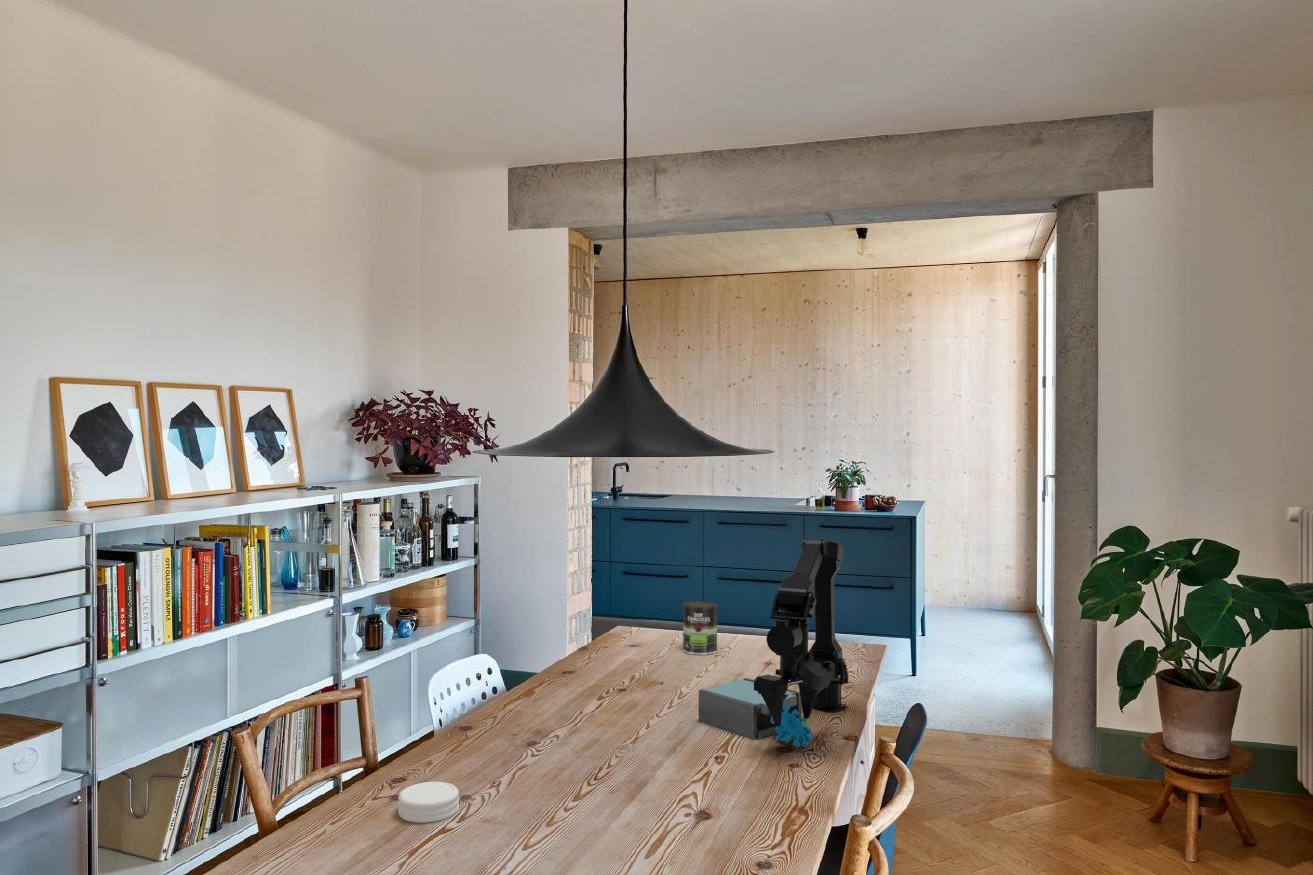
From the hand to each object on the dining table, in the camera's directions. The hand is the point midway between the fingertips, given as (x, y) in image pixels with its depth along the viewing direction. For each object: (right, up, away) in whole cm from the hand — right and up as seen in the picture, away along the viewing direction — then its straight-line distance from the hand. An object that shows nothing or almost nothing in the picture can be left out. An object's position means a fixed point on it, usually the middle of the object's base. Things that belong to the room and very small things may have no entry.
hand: (792, 721), depth 188 cm
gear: (0, -5, +1) cm, 5 cm away
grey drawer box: (-8, -5, +15) cm, 17 cm away
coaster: (-67, -5, -34) cm, 75 cm away
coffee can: (-15, -5, +82) cm, 84 cm away
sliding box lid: (-7, 0, +14) cm, 16 cm away
